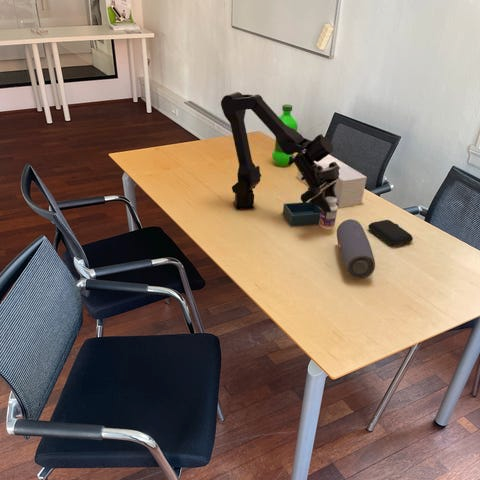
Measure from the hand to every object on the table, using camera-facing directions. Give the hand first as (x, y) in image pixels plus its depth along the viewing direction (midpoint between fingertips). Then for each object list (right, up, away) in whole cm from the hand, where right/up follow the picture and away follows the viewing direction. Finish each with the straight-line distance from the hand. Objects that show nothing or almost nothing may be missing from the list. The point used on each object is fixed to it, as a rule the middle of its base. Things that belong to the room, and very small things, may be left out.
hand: (333, 208), depth 158 cm
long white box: (+4, +16, +34) cm, 38 cm away
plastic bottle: (-12, +34, +56) cm, 66 cm away
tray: (-9, 0, +13) cm, 16 cm away
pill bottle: (-1, -5, +5) cm, 7 cm away
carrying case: (+21, -9, +5) cm, 23 cm away
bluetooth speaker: (+4, -20, -10) cm, 22 cm away
